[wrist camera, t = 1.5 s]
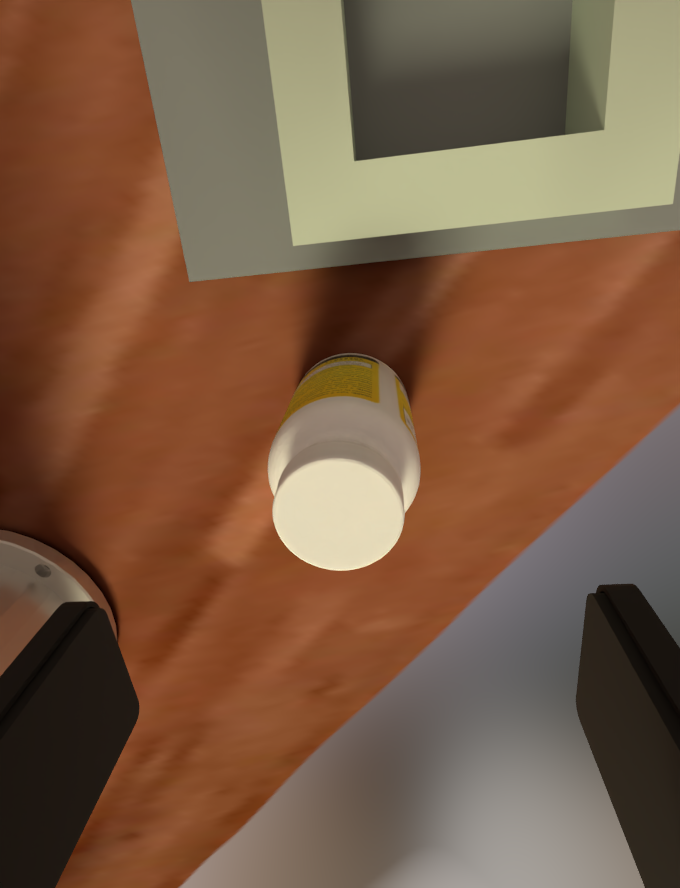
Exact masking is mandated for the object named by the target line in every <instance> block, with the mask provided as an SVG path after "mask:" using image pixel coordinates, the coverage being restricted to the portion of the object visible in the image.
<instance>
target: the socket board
mask: <svg viewBox="0 0 680 888" xmlns="http://www.w3.org/2000/svg"><path fill="white" fill-rule="evenodd" d="M131 3H132V7H133V12H134V17H135V22H136V27H137V32H138V36H139V41H140V46H141V51H142V56H143V60H144V65H145V70H146V75H147V80H148V84H149V89H150V94H151V99H152V104H153V109H154V113H155V118H156V123H157V128H158V133H159V137H160V142H161V147H162V152H163V157H164V161H165V166H166V171H167V176H168V181H169V185H170V190H171V195H172V200H173V205H174V210H175V214H176V219H177V224H178V229H179V234H180V238H181V243H182V248H183V253H184V258H185V262H186V267H187V272H188V277H189V282H193V281H202V280H212V279H221V278H231V277H240V276H250V275H259V274H268V273H278V272H287V271H297V270H306V269H316V268H325V267H335V266H344V265H354V264H363V263H372V262H382V261H391V260H401V259H410V258H420V257H429V256H439V255H448V254H458V253H467V252H477V251H486V250H495V249H505V248H514V247H524V246H533V245H543V244H552V243H562V242H571V241H581V240H590V239H599V238H609V237H618V236H628V235H637V234H647V233H656V232H666V231H675V230H680V0H131Z"/></svg>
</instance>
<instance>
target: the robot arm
mask: <svg viewBox="0 0 680 888" xmlns="http://www.w3.org/2000/svg"><path fill="white" fill-rule="evenodd" d="M576 705H577V712H578V716H579V719H580V722H581V724H582V727H583V730H584V732H585V735H586V737H587V740H588V743H589V745H590V748H591V750H592V753H593V755H594V758H595V761H596V763H597V766H598V768H599V771H600V773H601V776H602V778H603V781H604V784H605V786H606V789H607V791H608V794H609V796H610V799H611V802H612V804H613V806H614V809H615V811H616V814H617V817H618V819H619V822H620V825H621V827H622V830H623V832H624V835H625V837H626V840H627V842H628V845H629V848H630V850H631V853H632V855H633V858H634V860H635V863H636V866H637V868H638V871H639V873H640V876H641V878H642V881H643V883H644V886H645V888H680V648H679V647H678V645H677V644H676V642H675V641H674V639H673V638H672V636H671V635H670V634H669V632H668V631H667V629H666V628H665V626H664V625H663V623H662V622H661V621H660V619H659V617H658V616H657V615H656V613H655V612H654V610H653V609H652V607H651V606H650V605H649V603H648V602H647V600H646V599H645V597H644V596H643V595H642V593H641V591H640V590H639V589H638V588H637V586H636V585H633V584H612V585H599V586H598V588H597V591H596V593H591V594H588V596H587V600H586V609H585V619H584V629H583V638H582V647H581V656H580V666H579V676H578V684H577V694H576ZM138 715H139V701H138V698H137V696H136V693H135V690H134V687H133V684H132V682H131V679H130V676H129V673H128V671H127V668H126V665H125V662H124V659H123V657H122V654H121V651H120V648H119V646H118V643H117V632H116V624H115V620H114V617H113V614H112V611H111V608H110V606H109V604H108V603H107V601H106V599H105V597H104V595H103V594H102V592H101V591H100V589H99V588H98V587H97V586H96V584H95V583H94V582H93V581H92V579H91V578H90V577H89V576H88V575H87V574H86V573H85V572H84V571H83V570H82V569H80V568H79V567H78V566H77V565H76V564H75V563H74V562H73V561H71V560H70V559H68V558H67V557H65V556H64V555H62V554H61V553H59V552H58V551H57V550H55V549H53V548H51V547H49V546H47V545H45V544H43V543H41V542H39V541H37V540H35V539H33V538H29V537H26V536H23V535H20V534H17V533H14V532H11V531H5V530H0V888H55V887H56V884H57V882H58V880H59V878H60V876H61V874H62V872H63V870H64V868H65V866H66V864H67V862H68V860H69V858H70V856H71V854H72V852H73V850H74V848H75V846H76V844H77V842H78V840H79V838H80V836H81V834H82V832H83V830H84V827H85V825H86V823H87V821H88V819H89V817H90V815H91V813H92V811H93V809H94V807H95V805H96V803H97V801H98V799H99V797H100V795H101V793H102V791H103V789H104V787H105V785H106V783H107V781H108V779H109V777H110V775H111V773H112V770H113V768H114V766H115V764H116V762H117V760H118V758H119V756H120V754H121V752H122V750H123V748H124V746H125V744H126V742H127V740H128V738H129V736H130V734H131V732H132V730H133V728H134V726H135V724H136V721H137V719H138Z"/></svg>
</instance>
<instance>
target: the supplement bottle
mask: <svg viewBox="0 0 680 888" xmlns="http://www.w3.org/2000/svg"><path fill="white" fill-rule="evenodd" d="M268 477H269V483H270V487H271V490H272V492H273V495H274V501H273V521H274V525H275V528H276V531H277V533H278V535H279V537H280V538H281V540H282V541H283V543H284V544H285V545H286V546H287V548H288V549H289V550H290V551H291V552H292V553H294V554H295V555H296V556H297V557H299V558H300V559H302V560H304V561H305V562H307V563H309V564H312V565H314V566H317V567H320V568H324V569H330V570H353V569H358V568H361V567H365V566H367V565H370V564H372V563H373V562H375V561H377V560H379V559H381V558H382V557H383V556H384V555H386V554H387V553H388V552H389V551H390V550H391V549H392V547H393V546H394V545H395V543H396V542H397V540H398V538H399V537H400V534H401V531H402V528H403V524H404V517H405V512H406V511H407V510H408V508H409V507H410V505H411V503H412V502H413V500H414V498H415V495H416V493H417V490H418V486H419V482H420V458H419V451H418V447H417V441H416V436H415V431H414V425H413V420H412V415H411V409H410V404H409V399H408V396H407V393H406V390H405V387H404V385H403V383H402V382H401V380H400V378H399V377H398V376H397V374H396V373H395V372H394V371H393V370H392V369H391V368H390V367H389V366H387V365H386V364H385V363H383V362H382V361H380V360H378V359H376V358H373V357H371V356H368V355H364V354H358V353H344V354H338V355H334V356H331V357H328V358H326V359H324V360H322V361H320V362H319V363H317V364H316V365H315V366H313V367H312V368H311V369H310V370H309V371H308V372H307V373H306V374H305V376H304V377H303V378H302V380H301V382H300V383H299V385H298V387H297V389H296V391H295V393H294V395H293V397H292V400H291V402H290V404H289V406H288V409H287V411H286V413H285V416H284V418H283V420H282V422H281V425H280V427H279V429H278V431H277V433H276V436H275V438H274V440H273V443H272V446H271V449H270V453H269V459H268Z"/></svg>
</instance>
